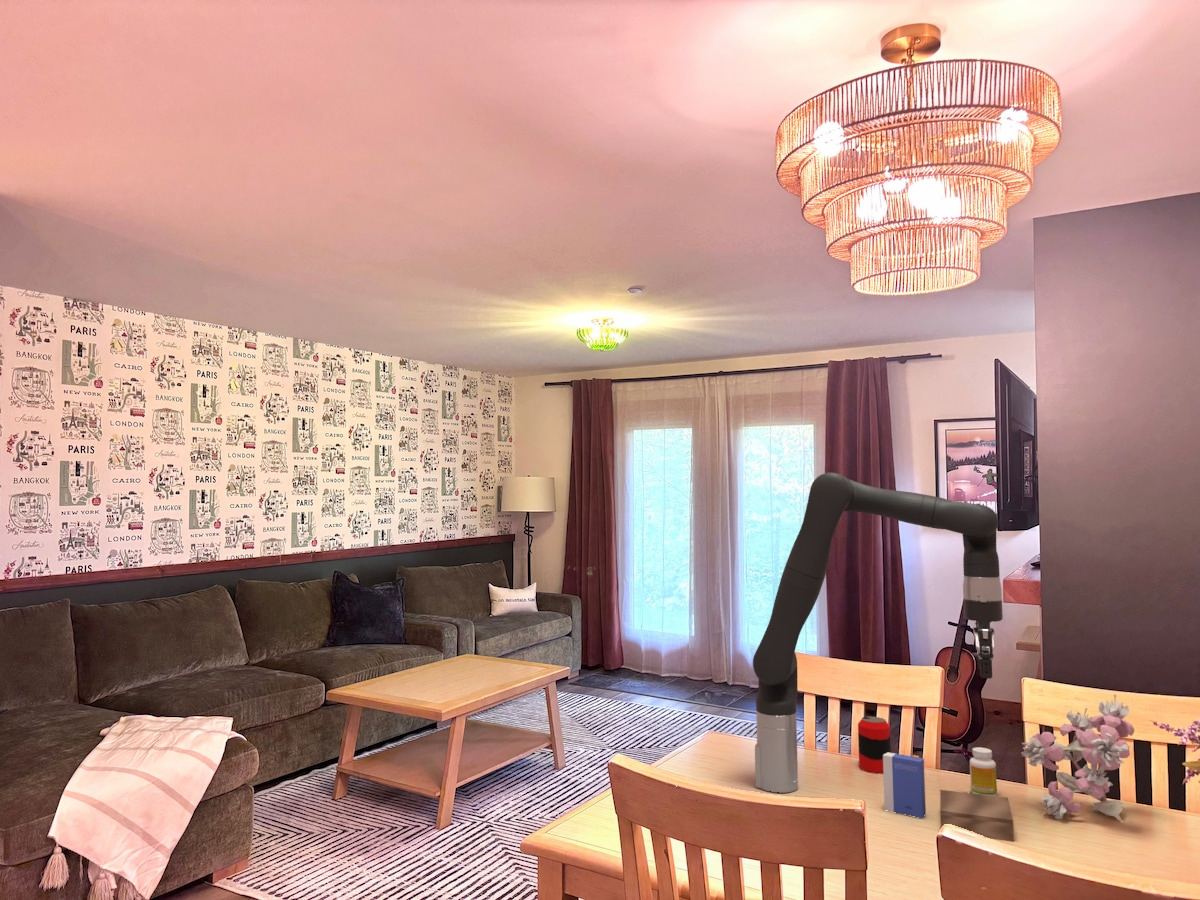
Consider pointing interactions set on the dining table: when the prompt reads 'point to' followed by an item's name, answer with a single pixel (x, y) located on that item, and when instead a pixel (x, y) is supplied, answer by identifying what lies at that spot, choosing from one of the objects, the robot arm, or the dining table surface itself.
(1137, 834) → the dining table surface
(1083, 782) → the flower
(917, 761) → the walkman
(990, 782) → the supplement bottle
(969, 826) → the walnut stand
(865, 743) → the soda can
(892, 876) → the dining table surface
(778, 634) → the robot arm
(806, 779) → the dining table surface
